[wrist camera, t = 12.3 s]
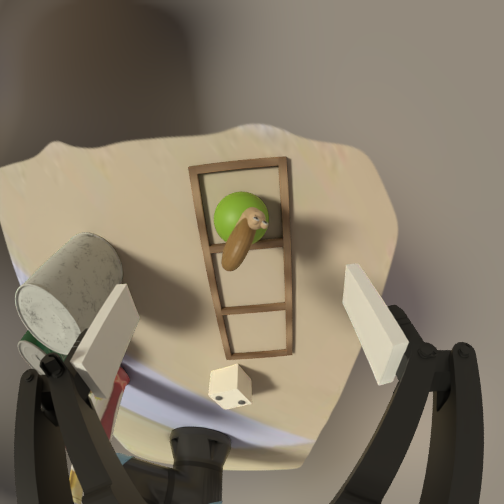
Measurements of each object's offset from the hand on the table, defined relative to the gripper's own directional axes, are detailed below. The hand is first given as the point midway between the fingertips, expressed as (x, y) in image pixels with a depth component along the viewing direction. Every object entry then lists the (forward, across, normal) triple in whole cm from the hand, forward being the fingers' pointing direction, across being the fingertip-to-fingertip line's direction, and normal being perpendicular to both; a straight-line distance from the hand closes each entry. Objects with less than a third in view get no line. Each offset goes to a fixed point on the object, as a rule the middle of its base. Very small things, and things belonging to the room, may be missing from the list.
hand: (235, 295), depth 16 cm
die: (+16, +5, +28) cm, 33 cm away
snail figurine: (+16, 0, 0) cm, 16 cm away
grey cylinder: (+16, +21, +5) cm, 27 cm away
